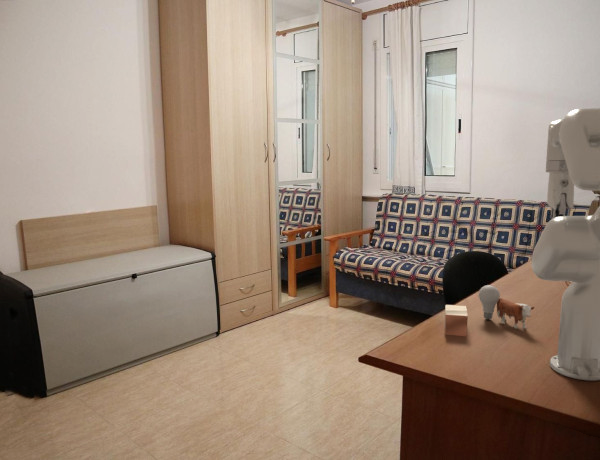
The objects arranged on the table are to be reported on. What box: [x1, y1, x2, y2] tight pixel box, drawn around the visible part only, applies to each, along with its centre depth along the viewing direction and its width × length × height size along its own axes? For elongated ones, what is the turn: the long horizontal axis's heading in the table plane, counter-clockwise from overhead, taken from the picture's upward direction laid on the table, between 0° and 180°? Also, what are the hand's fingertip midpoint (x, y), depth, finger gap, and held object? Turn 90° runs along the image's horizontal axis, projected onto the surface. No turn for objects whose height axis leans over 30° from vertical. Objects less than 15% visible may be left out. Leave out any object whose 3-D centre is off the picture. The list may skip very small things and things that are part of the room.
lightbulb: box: [478, 284, 501, 321], centre depth 156 cm, size 6×6×11 cm
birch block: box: [444, 304, 469, 337], centre depth 149 cm, size 6×6×9 cm
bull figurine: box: [496, 297, 535, 330], centre depth 151 cm, size 4×13×8 cm, turn 21°
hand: (556, 233), depth 141 cm, fingers closed
